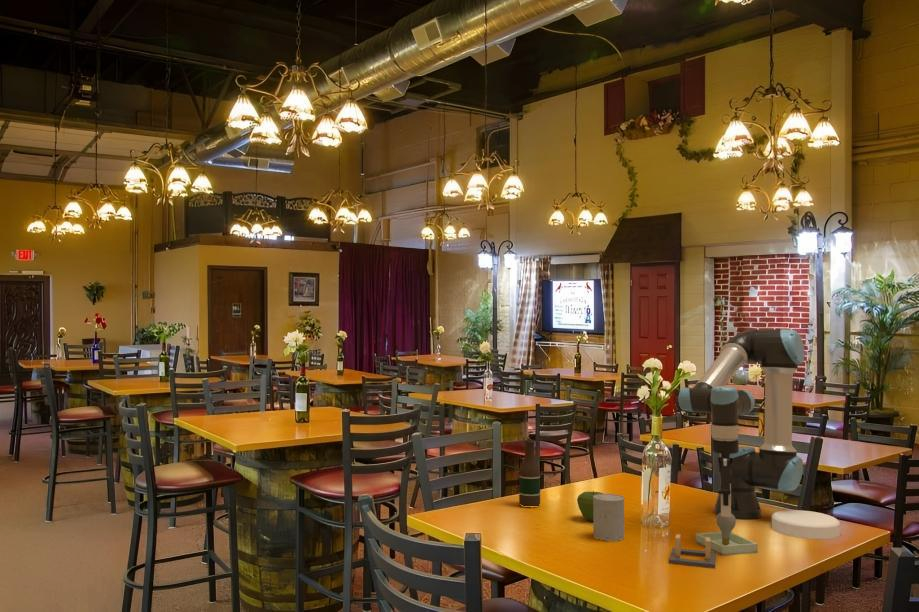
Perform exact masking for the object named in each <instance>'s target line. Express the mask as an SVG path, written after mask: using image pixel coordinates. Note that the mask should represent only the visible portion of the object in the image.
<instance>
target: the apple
mask: <svg viewBox="0 0 919 612" xmlns="http://www.w3.org/2000/svg"><path fill="white" fill-rule="evenodd" d="M597 494H605V492H604V493H603V492H600V491H594V490H592V491H584V492H581V493H580V494H578V496H577V499H576V501H577V506H578V508H579V511H580V514H581V516H582V517H583V518H584V519H586V521H588V520H590V522H593V496H594V495H597Z"/></svg>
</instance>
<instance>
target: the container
mask: <svg viewBox="0 0 919 612" xmlns="http://www.w3.org/2000/svg"><path fill="white" fill-rule="evenodd" d="M771 529H772V530H773V531H774V532H777V533H779V534H781V535H784V536H789V537H793V538H799V539H805V540H806V539H807V540H833V539H837V538H840V536H841V521H839V519H837V518H836V517H835V516H832V515H829V514H826V513H822V512H816V511H810V510H799V509H785V510H783V509H782V510H778V511H775V512H774V513H773V514H772V515H771Z"/></svg>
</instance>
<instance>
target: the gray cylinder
mask: <svg viewBox="0 0 919 612" xmlns="http://www.w3.org/2000/svg"><path fill="white" fill-rule="evenodd" d="M592 522H593V523H592V525H593V528H592V529H593V531H592V532H593V535H594V537H595V538H598V539H601V540H605V541H604V542H609V541H615V542H619V541H618V540H622V539H624V540H625V538H624V537H625V497H624V496H623V495H620V494H616V493H615V494H613V493H604V494H597V495H594V496H593V521H592ZM593 535H592V536H593ZM594 537H593V538H594ZM595 538H594V539H595ZM598 539H597V540H598ZM601 540H600V541H601ZM622 541H623V540H622Z"/></svg>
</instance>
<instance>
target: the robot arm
mask: <svg viewBox="0 0 919 612" xmlns="http://www.w3.org/2000/svg"><path fill="white" fill-rule="evenodd" d="M804 358H805V346H804V342H803V339H802V337H801V335H800V333H798V331H796V330H794V329H783V328H782V329H777V328H776V329H749V330H744V331H742V332H739V333H737V334H736V335H734V336H733V337H731V338H730V339H729V340H727V341H726V342H725V343H724V344H723V346H721V348H720V351H719V355H718V356H717V357H716V358H715V360H714V361H713V362H712V364H711V365H710V366H709V367H708V369H707V370H706V371H705V372H704V373H703V375H702V376H701V377H700V378H699V379H698V381H697V382H696V383H695V385H693V387H688V386H687V387H683V388H681V389H680V390H679V392H678V393H679V394H678V399H677V401H678V405H679V408H680V409H681V410H682V411H686V412H691V413H705V414H706V413H707V414H711V415H710V417H711V422H710V423H711V425H710V429H711V434H710V435H711V438H712V439H711V451H712V452H713V453H715V454H719V457H718V459H717V460H718V467H719V468H718V471H719V490H718V491H717V492H718V493H717V494H718V495H717V497H716V501H715V504H714V513H716V514H717V515H718V514H719V513H720V512H721V516H723V517H731V513H732V514H733V515H734V517H735V519H739V520H741V519H743V520H745V519H746V520H748V519H749V520H750V519H757V518H760V517H761V516H762V511H761V510H762V509H761V506H760V503H759V500H758V497H757V495H756V487H757V488H758V487H759V488H765V489H772V490H778V491H785V492H791V491H795V490H796V489H797V488H798V486H799V485H800V483H801V480H802V476H803V471H804V463H803V461H804V460H803V459H802V457H800V456H798V454H797V449H796V448H795V447H794V446H793V444H792V443H793V441H792V440H793V438H792V437H793V390H794V389H793V384H794V383H793V381H794V380H793V379H794V378H793V377H794V374H795V372H797V371H798V368H799V367H798V366H799V365H802V364H804V361H805V359H804ZM750 363H758V364H760V369H761V370H762V371H763V372H764V373H765V384H764V386H765V387H764V388H765V389H764V391H765V392H764V433H763V434H764V439H763V440H764V442H763V444H762V445H761V446H759V448H758V449H759V450H758V451H759V452H758V451H757V452H756V448H755V447H754V446H739V445H740V444H739V440H738V438H739V432H741V428H740V427H739V416H745V415H748V414H749V413H751V412H752V411H753V409H754V408H755V404H756V402H755V401H756V400H755V397H754V396H753V395H754V394H752V393H751V392H750V391H748V390H746V389H737V387H735V386H729V385H728V386H727V384H728V382H729V381H730V380H731V379H732V378H733V376H734V375H735V373H736V372H737V371H738V369H741V368H742V367H744V366H746V364H750Z"/></svg>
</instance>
